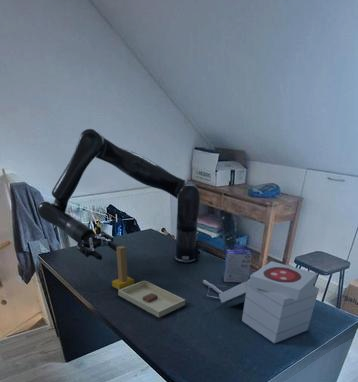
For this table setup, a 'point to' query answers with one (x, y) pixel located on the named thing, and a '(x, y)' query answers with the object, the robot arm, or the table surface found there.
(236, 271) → the ink cartridge box
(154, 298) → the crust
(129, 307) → the table surface
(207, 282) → the crossbow
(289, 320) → the pizza boxes
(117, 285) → the peg stand
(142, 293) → the tray
